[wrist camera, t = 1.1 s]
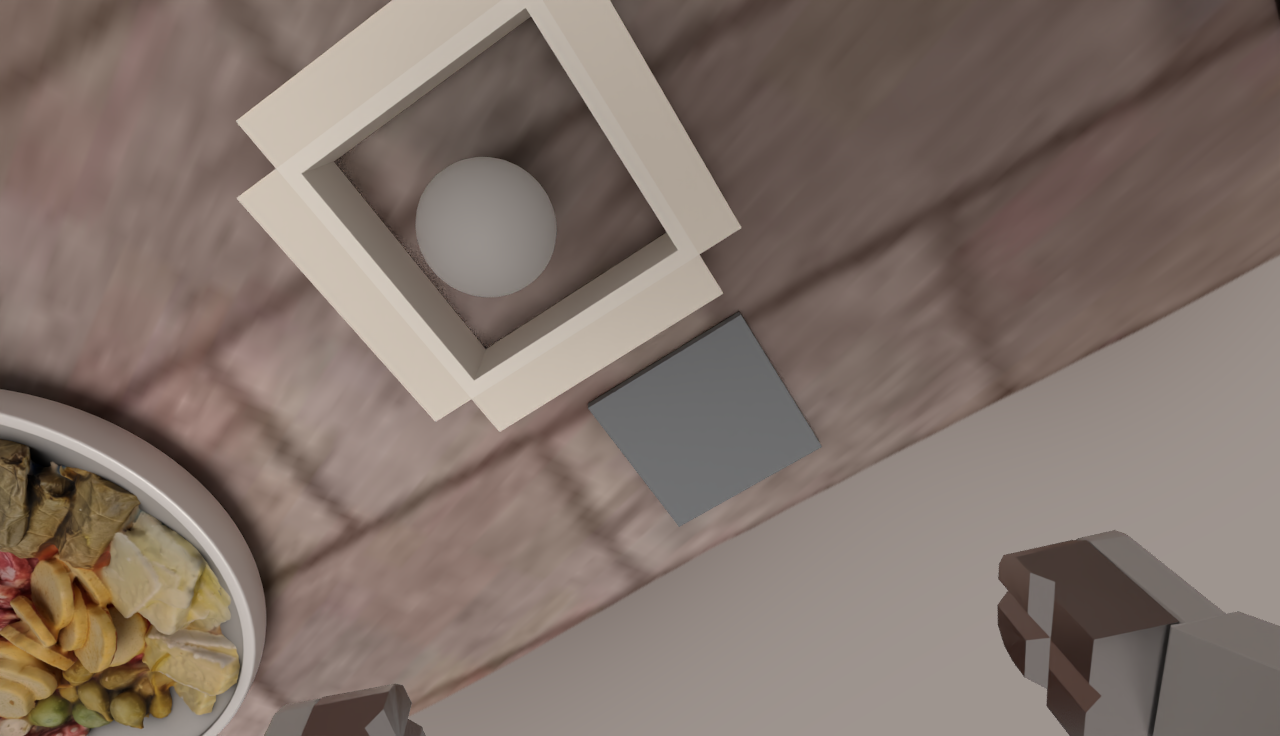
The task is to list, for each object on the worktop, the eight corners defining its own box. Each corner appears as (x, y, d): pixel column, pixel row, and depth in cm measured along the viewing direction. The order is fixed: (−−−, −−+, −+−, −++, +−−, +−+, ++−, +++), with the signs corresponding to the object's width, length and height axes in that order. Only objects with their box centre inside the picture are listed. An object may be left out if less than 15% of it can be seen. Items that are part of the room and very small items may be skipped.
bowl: (16, 265, 38) (-119, 311, 31) (377, 610, 49) (340, 703, 42) (-326, 518, 43) (-512, 610, 35) (75, 780, 54) (-4, 890, 47)
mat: (739, 311, 41) (740, 314, 41) (819, 442, 45) (821, 446, 45) (587, 403, 43) (588, 408, 43) (678, 521, 47) (679, 526, 47)
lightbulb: (582, 174, 38) (578, 213, 28) (534, 270, 40) (514, 339, 30) (478, 117, 36) (434, 137, 26) (433, 220, 38) (377, 275, 28)
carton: (548, -93, 33) (542, -116, 28) (746, 247, 40) (764, 267, 36) (240, 142, 36) (195, 152, 32) (475, 416, 43) (463, 453, 39)
